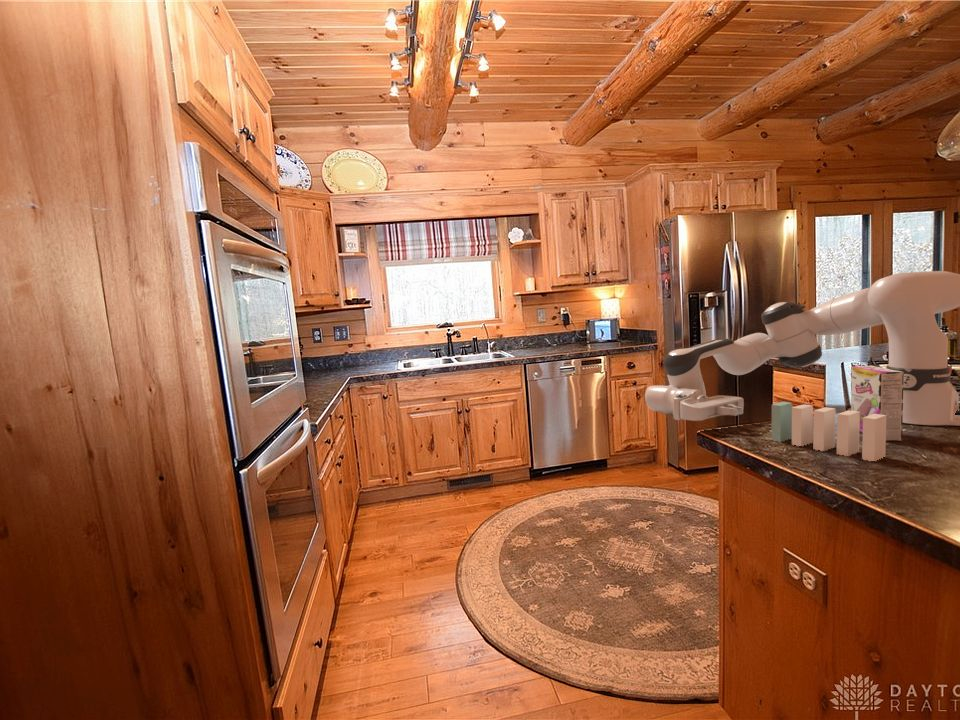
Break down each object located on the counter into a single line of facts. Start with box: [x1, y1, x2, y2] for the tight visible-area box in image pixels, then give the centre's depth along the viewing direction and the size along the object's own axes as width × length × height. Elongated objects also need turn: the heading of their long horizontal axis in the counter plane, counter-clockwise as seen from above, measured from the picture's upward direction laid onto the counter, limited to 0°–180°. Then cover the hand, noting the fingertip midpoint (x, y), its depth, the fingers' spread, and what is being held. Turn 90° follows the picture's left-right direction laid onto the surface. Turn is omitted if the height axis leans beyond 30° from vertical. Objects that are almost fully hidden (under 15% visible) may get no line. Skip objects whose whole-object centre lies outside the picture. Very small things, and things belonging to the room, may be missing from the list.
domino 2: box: [791, 404, 814, 447], centre depth 104 cm, size 5×2×9 cm, turn 118°
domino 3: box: [812, 406, 837, 452], centre depth 100 cm, size 5×2×9 cm, turn 118°
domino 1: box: [771, 401, 793, 443], centre depth 108 cm, size 5×2×9 cm, turn 118°
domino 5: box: [861, 414, 887, 462], centre depth 92 cm, size 5×2×9 cm, turn 118°
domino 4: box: [836, 409, 860, 457], centre depth 96 cm, size 5×2×9 cm, turn 118°
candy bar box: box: [850, 365, 904, 442], centre depth 106 cm, size 11×5×16 cm, turn 168°
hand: (740, 411), depth 117 cm, fingers closed
